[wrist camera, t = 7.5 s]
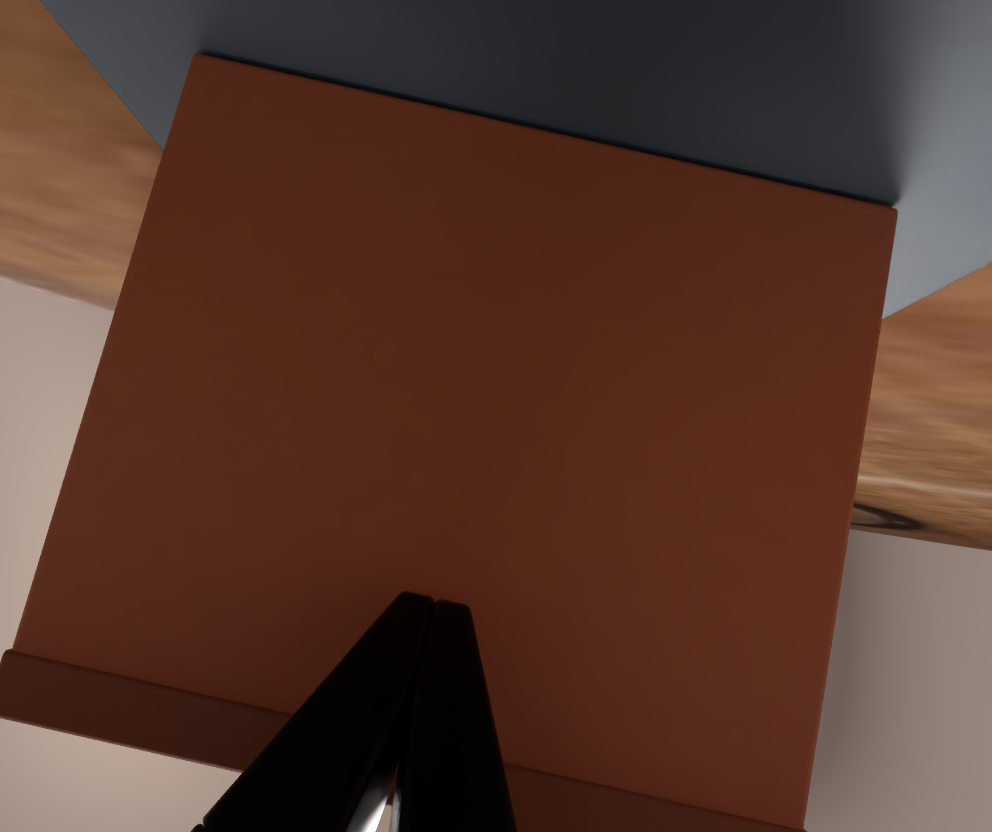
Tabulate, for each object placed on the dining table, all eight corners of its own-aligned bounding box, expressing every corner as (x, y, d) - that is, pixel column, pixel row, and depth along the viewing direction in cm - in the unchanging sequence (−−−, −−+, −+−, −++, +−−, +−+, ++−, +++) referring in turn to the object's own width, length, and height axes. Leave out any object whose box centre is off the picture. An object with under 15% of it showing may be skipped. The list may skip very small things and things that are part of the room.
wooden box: (186, 46, 11) (-19, 716, 9) (907, 206, 11) (800, 903, 9) (350, 318, 25) (276, 603, 23) (662, 388, 25) (606, 678, 23)
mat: (-511, -710, 5) (-526, -681, 5) (1830, -202, 5) (1830, -171, 4) (320, 336, 29) (319, 341, 29) (684, 417, 29) (683, 423, 29)
